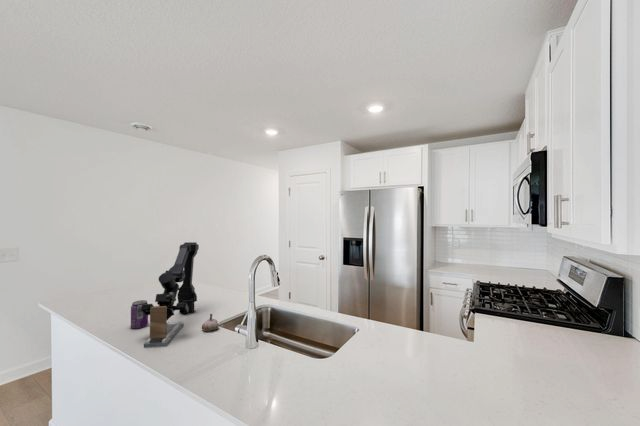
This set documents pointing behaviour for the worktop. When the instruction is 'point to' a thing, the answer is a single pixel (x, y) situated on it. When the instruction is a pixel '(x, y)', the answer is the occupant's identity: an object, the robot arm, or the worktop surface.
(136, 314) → the beverage can
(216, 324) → the garlic bulb
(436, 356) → the worktop surface
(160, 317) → the fader handle
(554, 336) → the worktop surface
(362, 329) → the worktop surface
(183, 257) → the robot arm
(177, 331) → the fader track
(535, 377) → the worktop surface
